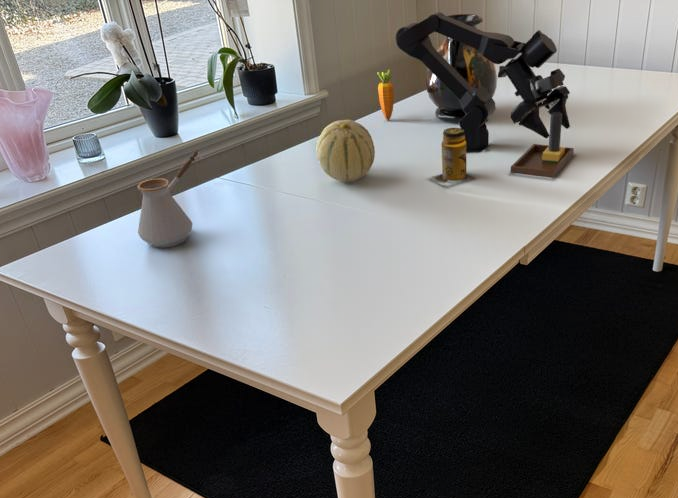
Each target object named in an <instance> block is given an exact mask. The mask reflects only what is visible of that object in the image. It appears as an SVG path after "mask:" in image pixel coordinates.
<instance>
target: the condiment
mask: <svg viewBox="0 0 678 498" xmlns="http://www.w3.org/2000/svg"><path fill="white" fill-rule="evenodd" d="M441 168H442V169H441V171H442V172H441V174H438V175H435V176H431V177H429V179H431V181H432V182H433V181H434V183H437V184H438V185H441V186H444V185H445V184H446V183H447V182H448V181H461V180H464V179H465V178H466V177H467V152H466V141H465V131H464V130H463V129H461V127H449V128H448V127H447V128H445V129H443V132H442V142H441Z"/></svg>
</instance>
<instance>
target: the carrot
mask: <svg viewBox="0 0 678 498" xmlns="http://www.w3.org/2000/svg"><path fill="white" fill-rule="evenodd" d="M391 72H392V71H391V69H387V72H383V71H382V72H380V71H378V72H377V73H376V74H377V76H378V77H379V79H380V80H381V82H379V84H378V86H377V90H378V100H379V105H380V109H381V112H382V115H383V116H384V118H385V120H386V121H387V122H389V121H390V120H391V118H392V116H393V111H394V103H395V91H394V90H395V89H394V83H393V82H391V81H389V80H390V79H391V77H392V76H391Z"/></svg>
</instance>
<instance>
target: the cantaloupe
mask: <svg viewBox="0 0 678 498" xmlns="http://www.w3.org/2000/svg"><path fill="white" fill-rule="evenodd" d="M375 156H376V150H375V145H374V141H373V138H372V135H371V134H370V132H369V130H368V129H367V128H366V127H365V126H363V125H362V124H361V123H359V122H357V121H355V120H352V119H340V120H336V121H333V122H331V123H330V124H328V125H327V126H325V128H324V129H323V130H322V131H321V133H320V135H319V137H318V139H317V142H316V157H317V161H318V163H319V165H320V168H321V169H322V170H323V172H324V173H325V174H326V175H327V176H329V177H330V178H332V179H334V180H336V181H339V182H344V183H345V182H353V181H357V180H358V179H361V178H364V177H365V176H366V175H367V174H368V173H369V171H370V169H371V168H372V166H373V164H374V161H375Z"/></svg>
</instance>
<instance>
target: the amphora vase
mask: <svg viewBox="0 0 678 498" xmlns="http://www.w3.org/2000/svg"><path fill="white" fill-rule="evenodd" d="M447 16H448V17H450V18H453V19H455V20H457V21H460V22H462V23H464V24H467V25H469V26H472V27H474V28H476V29H478V28H477V27H478V26H479V25H481V24H482V23H483V22H484V18H483V17H482V16H481V15H479V14H470V13H460V14H459V13H458V14H449V15H447ZM436 51H437V52H438V53H439V54H440V55H441V56H442V57H443V58H444V59H445V60H446V61H447V62H448V63H449V64H450V65H451V66H452V67H453V68H454V69H455V70H456V71H457V72H458V73H459V74H460V75H461V76H462V77H463V78H464V79H465V80H466V81H467V82H468V83H469V84H470V85H471V86H472V87H474V88H476V89H478V88H479V87H481V86H483V87H484V88H485V89H486V91H487V92H488V93H489V94H491V95H493V97H494V96H495V93H496V90H497V87H498V86H497V84H498V73H497V68H496V64H494V63H492V62H491V61H489V60H488V59H486V58H485V57H483V56H482V55H481V54H480V52H479V51H477V50H476V49H474V48H472V47H470V46H468V45H465V44H463V43H461V42H458V41H456V40H454V39H451V38H449V37H447V36H445V38H444V40H443V41H442V43H441V44H440V46H439V47H438V49H436ZM426 70H427V71H426V76H425V86H426V92H427V94H428V97H429V99H430V101H431V102H432V103H433V104H434V105H435V106H436V109H435V111H434V113H435V116H436V118H437V119H439V120H440V121H443V122H446V123H452V124H459V121H460V120H461V119H462V118H463V117H464V116H465V115H466V114H465V112H464V111H463V109H462V106H461V104H460V101H459V99H458V98H457V97H456V96H455V95H454V94H453V93H452V92H451V91H450V90H449V89H448V88H447V87H446V86H445V85H444V84H443V83H442V82H441V81H440V80H439V79H438V78H437V77H436V76H435V75H434V74H433V73H432V72H431V71H430V70H429V69H428V68H427V69H426Z"/></svg>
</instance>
